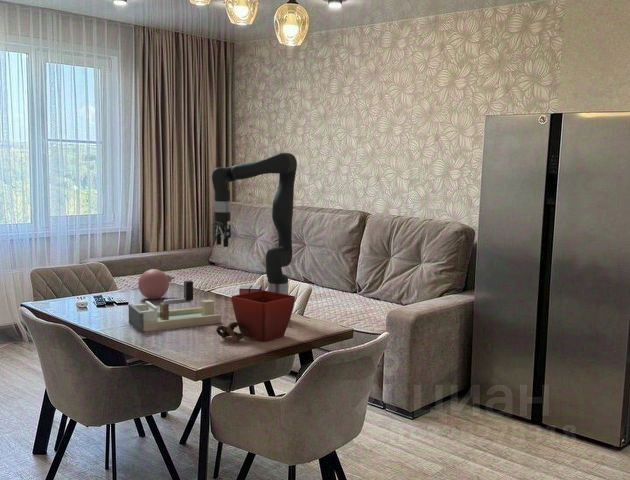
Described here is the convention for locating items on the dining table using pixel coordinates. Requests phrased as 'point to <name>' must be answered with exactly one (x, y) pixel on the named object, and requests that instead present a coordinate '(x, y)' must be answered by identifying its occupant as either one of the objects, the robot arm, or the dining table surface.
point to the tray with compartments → (171, 316)
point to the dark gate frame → (177, 300)
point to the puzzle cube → (249, 288)
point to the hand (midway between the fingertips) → (222, 245)
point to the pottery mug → (231, 331)
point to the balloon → (154, 283)
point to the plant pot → (263, 313)
